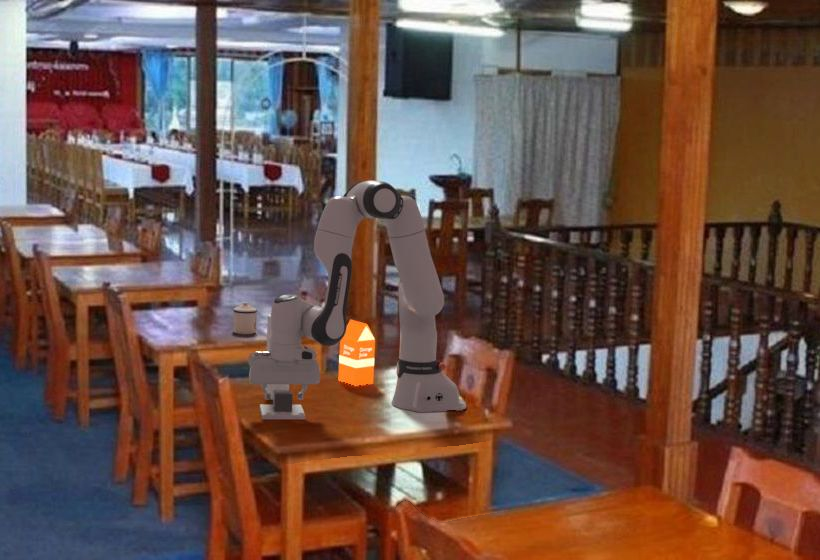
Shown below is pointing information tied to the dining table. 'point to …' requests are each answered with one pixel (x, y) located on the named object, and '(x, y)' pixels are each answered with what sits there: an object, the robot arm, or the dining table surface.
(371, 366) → the orange juice
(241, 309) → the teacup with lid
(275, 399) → the dark grey cube block
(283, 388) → the cylindrical container
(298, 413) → the shaft base
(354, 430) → the dining table surface
